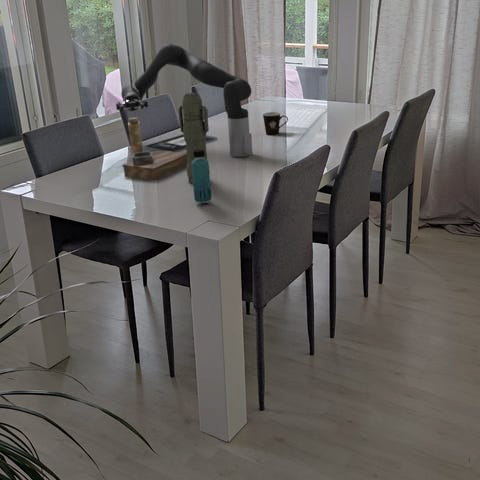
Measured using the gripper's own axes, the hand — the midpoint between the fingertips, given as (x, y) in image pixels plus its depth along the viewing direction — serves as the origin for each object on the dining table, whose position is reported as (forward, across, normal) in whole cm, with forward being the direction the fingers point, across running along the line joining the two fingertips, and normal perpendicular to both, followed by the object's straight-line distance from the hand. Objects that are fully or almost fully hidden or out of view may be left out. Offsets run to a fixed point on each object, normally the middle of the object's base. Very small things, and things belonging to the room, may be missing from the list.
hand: (132, 107), depth 304 cm
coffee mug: (-22, +68, +24) cm, 76 cm away
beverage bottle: (+73, +23, +24) cm, 80 cm away
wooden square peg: (+7, 0, +24) cm, 25 cm away
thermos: (+45, +24, +24) cm, 57 cm away
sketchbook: (-21, +21, +24) cm, 39 cm away
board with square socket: (+23, +8, +24) cm, 34 cm away
